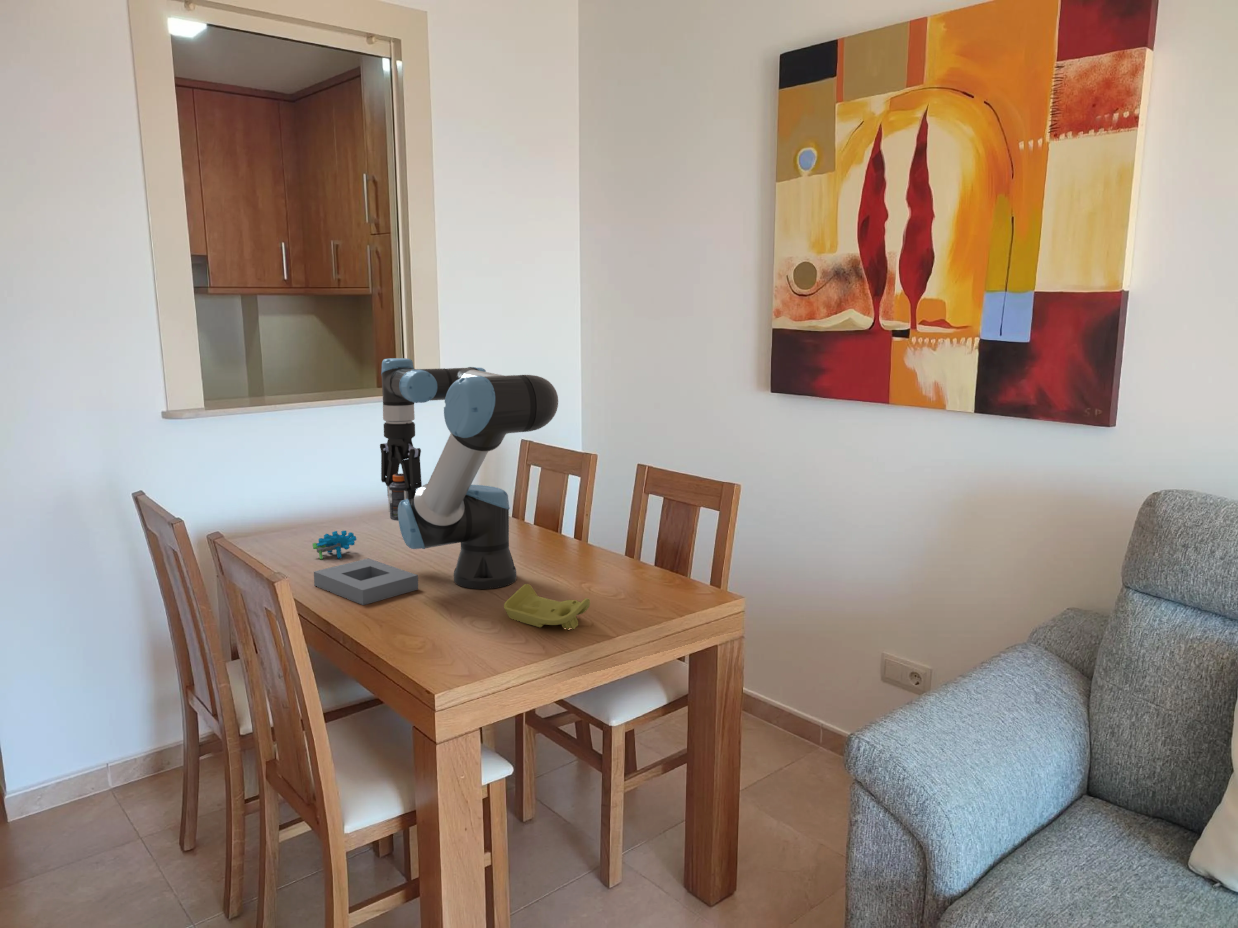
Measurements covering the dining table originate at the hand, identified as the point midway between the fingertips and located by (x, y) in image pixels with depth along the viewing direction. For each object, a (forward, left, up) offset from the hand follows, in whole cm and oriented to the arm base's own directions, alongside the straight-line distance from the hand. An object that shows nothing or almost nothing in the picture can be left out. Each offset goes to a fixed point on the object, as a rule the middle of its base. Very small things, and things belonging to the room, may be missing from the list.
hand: (402, 513), depth 218 cm
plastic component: (-53, +2, -15) cm, 56 cm away
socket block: (-6, +15, -14) cm, 22 cm away
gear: (+23, +5, -15) cm, 28 cm away
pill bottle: (0, 0, -2) cm, 2 cm away
